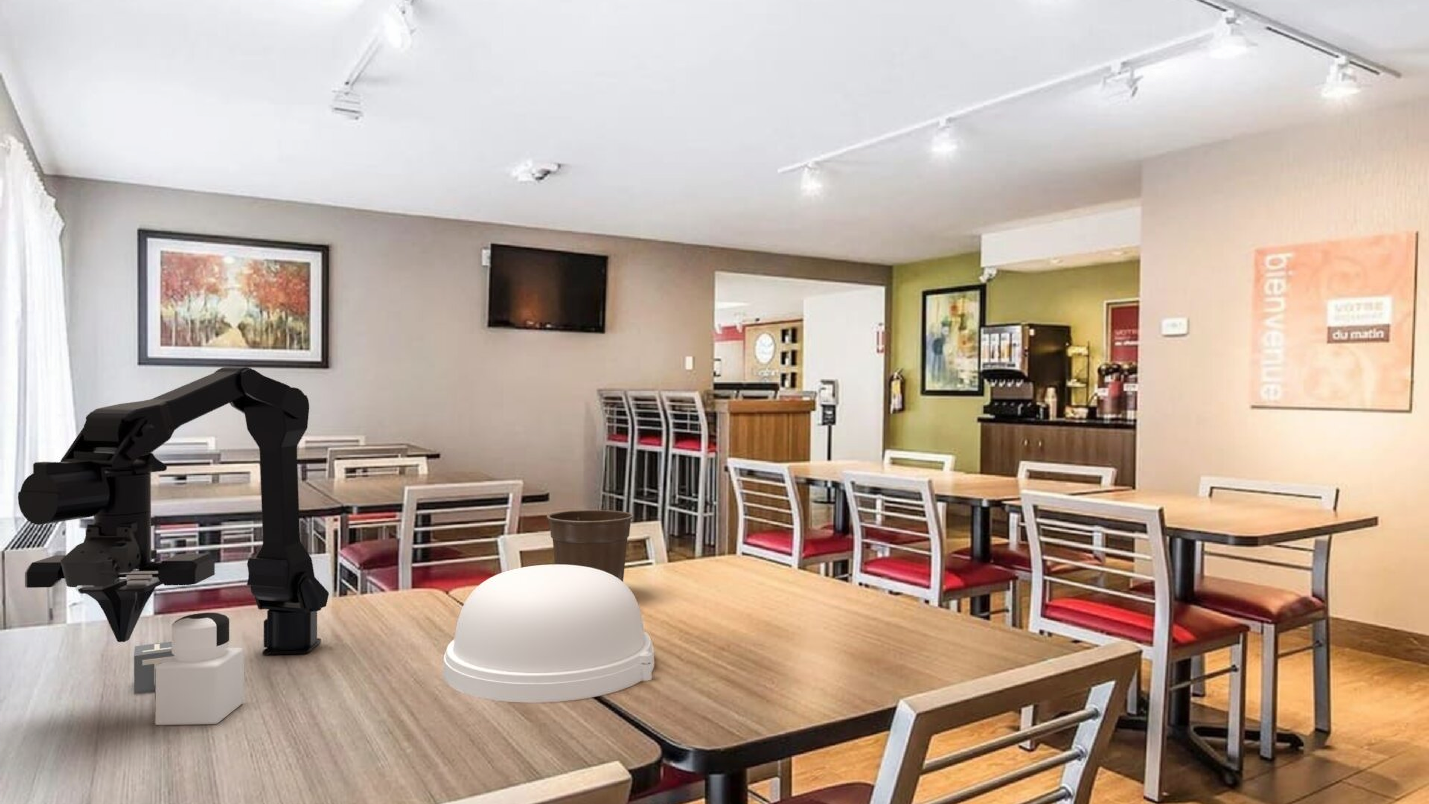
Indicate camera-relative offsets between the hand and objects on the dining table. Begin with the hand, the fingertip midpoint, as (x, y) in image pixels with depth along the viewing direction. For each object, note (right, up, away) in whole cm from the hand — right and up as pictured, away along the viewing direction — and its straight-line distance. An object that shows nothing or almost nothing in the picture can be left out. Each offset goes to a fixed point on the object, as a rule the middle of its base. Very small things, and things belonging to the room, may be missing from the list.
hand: (123, 641), depth 105 cm
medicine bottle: (+9, -9, +1) cm, 13 cm away
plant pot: (+48, -9, +60) cm, 77 cm away
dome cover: (+48, -10, +21) cm, 53 cm away
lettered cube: (-3, -9, +11) cm, 15 cm away
